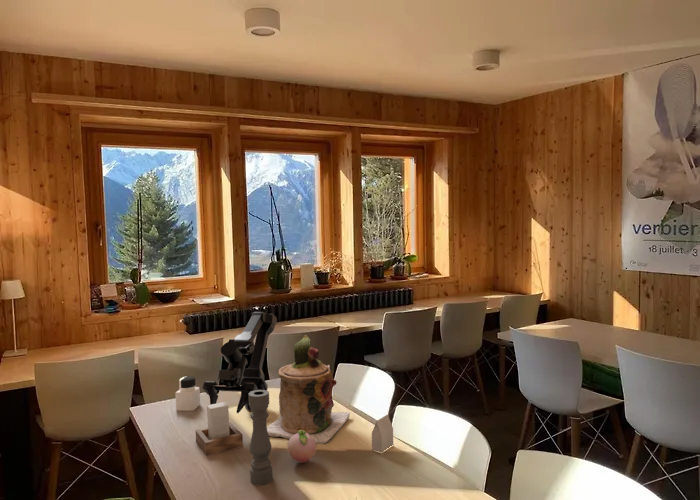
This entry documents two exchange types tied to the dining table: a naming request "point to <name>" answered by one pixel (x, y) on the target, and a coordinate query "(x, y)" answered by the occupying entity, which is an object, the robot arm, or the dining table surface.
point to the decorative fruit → (301, 446)
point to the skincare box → (218, 420)
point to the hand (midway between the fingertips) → (224, 412)
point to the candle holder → (260, 438)
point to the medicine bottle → (187, 394)
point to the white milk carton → (382, 434)
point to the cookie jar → (307, 397)
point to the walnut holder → (219, 440)
